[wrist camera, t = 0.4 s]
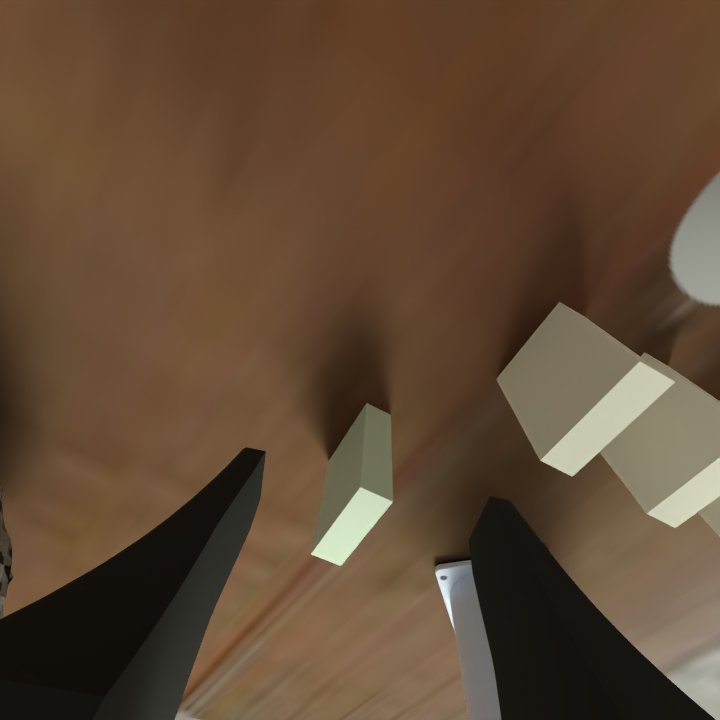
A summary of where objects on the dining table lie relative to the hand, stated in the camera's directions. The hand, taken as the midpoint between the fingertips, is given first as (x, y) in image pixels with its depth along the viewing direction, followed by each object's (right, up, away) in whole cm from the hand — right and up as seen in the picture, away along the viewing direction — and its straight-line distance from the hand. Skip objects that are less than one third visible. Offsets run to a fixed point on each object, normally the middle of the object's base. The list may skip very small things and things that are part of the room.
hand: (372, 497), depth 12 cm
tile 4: (+9, +5, +8) cm, 13 cm away
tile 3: (+14, +2, +9) cm, 16 cm away
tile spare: (0, 0, +11) cm, 11 cm away
